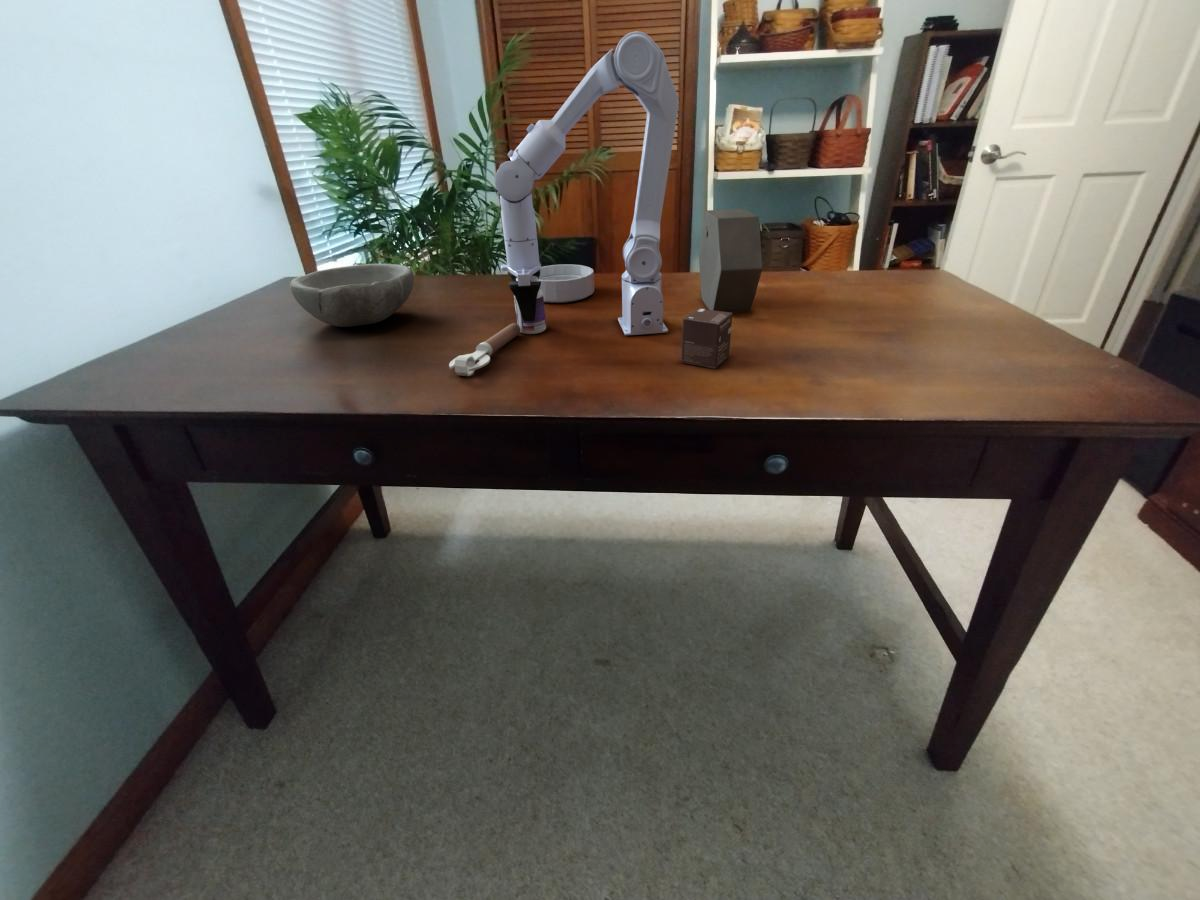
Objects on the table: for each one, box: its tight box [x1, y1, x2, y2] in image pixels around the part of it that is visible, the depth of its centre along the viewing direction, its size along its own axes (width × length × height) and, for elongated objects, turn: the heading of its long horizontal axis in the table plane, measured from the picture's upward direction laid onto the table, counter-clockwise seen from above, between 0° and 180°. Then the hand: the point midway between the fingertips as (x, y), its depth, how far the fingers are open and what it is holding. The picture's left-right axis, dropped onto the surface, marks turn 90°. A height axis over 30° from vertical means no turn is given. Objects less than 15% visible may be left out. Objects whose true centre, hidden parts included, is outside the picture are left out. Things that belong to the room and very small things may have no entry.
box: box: [680, 308, 734, 369], centre depth 85 cm, size 6×6×7 cm
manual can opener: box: [448, 322, 521, 377], centre depth 92 cm, size 21×6×3 cm, turn 167°
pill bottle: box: [513, 276, 547, 335], centre depth 101 cm, size 5×5×10 cm
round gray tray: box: [538, 263, 595, 304], centre depth 122 cm, size 15×15×5 cm
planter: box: [698, 208, 763, 313], centre depth 108 cm, size 17×8×21 cm
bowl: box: [289, 263, 415, 328], centre depth 109 cm, size 23×22×10 cm
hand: (529, 315), depth 102 cm, fingers closed on pill bottle, 5 cm apart
